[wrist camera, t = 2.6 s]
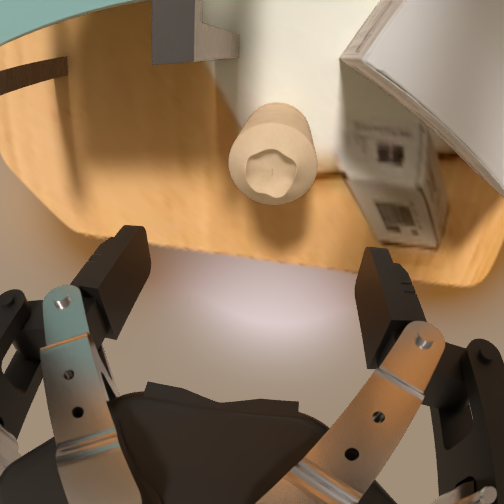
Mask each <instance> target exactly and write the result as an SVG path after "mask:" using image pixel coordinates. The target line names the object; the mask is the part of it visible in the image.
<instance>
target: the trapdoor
mask: <svg viewBox="0 0 504 504" xmlns="http://www.w3.org/2000/svg"><path fill="white" fill-rule="evenodd" d="M143 1H149V0H0V46H2V45H4V44H6V43H8V42H11V41H13V40H15V39H17V38H20V37H22V36H25V35H27V34H29V33H32V32H35V31H37V30H40V29H42V28H45V27H48V26H51V25H54V24H57V23H59V22H62V21H66V20H69V19H72V18H75V17H79V16H82V15H85V14H89V13H93V12H97V11H100V10H105V9H109V8H113V7H117V6H122V5H127V4H132V3H137V2H143Z"/></svg>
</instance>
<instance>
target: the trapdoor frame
mask: <svg viewBox="0 0 504 504" xmlns="http://www.w3.org/2000/svg"><path fill="white" fill-rule="evenodd" d="M226 58H239V35H238V34H235V33H232V32H229V31H226V30H223V29H220V28H217V27H214V26H211V25H208V24H205V23H202V0H152V65H156V64H169V63H184V62H198V61H207V60H216V59H226ZM65 75H68V70H67V56H65V57H60V58H54V59H49V60H44V61H39V62H34V63H30V64H25V65H21V66H17V67H13V68H9V69H6V70H2V71H0V95H3V94H5V93H8V92H11V91H14V90H17V89H20V88H23V87H26V86H29V85H33V84H36V83H39V82H43V81H46V80H50V79H53V78H57V77H61V76H65Z"/></svg>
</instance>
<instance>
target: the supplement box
mask: <svg viewBox="0 0 504 504" xmlns="http://www.w3.org/2000/svg"><path fill="white" fill-rule="evenodd" d="M339 58H340V60H342V61H343V62H344V63H346V64H347V65H349V66H350V67H352V68H353V69H355V70H356V71H358V72H359V73H360V74H362V75H363V76H365V77H366V78H367V79H369V80H370V81H372V82H373V83H374V84H376V85H377V86H379V87H380V88H381V89H383V90H384V91H385V92H387V93H388V94H389V95H390V96H392V97H393V98H394V99H396V100H397V101H398V102H399V103H401V104H402V105H403V106H404V107H406V108H407V109H408V110H409V111H410V112H412V113H413V114H414V115H415V116H416V117H418V118H419V119H420V120H421V121H422V122H423V123H424V124H426V125H427V126H428V127H429V128H430V129H431V130H432V131H433V132H435V133H436V134H437V135H438V136H439V137H440V138H441V139H442V140H443V141H444V142H445V143H446V144H447V145H449V146H450V147H451V148H452V149H453V150H454V151H455V152H456V153H457V154H458V155H459V156H460V157H461V158H462V159H463V160H464V161H465V162H466V163H467V164H468V165H469V167H470V168H471V169H472V170H473V171H474V172H476V173H477V174H478V175H479V176H480V177H481V178H483V179H484V180H485V181H486V182H487V183H488V184H490V185H491V186H492V187H493V188H494V189H495V190H496V191H497V192H499V193H500V194H501V195H502V196H503V197H504V0H380V1H379V2H378V4H377V5H376V7H375V8H374V9H373V11H372V12H371V14H370V15H369V16H368V18H367V19H366V21H365V22H364V23H363V25H362V26H361V28H360V29H359V31H358V32H357V33H356V35H355V36H354V38H353V39H352V41H351V42H350V43H349V45H348V46H347V48H346V49H345V50H344V52H343V53H342V54H341V56H340V57H339Z"/></svg>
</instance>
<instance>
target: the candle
mask: <svg viewBox="0 0 504 504" xmlns="http://www.w3.org/2000/svg"><path fill="white" fill-rule="evenodd" d="M228 166H229V172H230V175H231V178H232V180H233V182H234V184H235V185H236V187H237V188H238V189H239V190H240V191H241V192H242V193H243V194H244V195H245V196H247V197H248V198H250V199H252V200H254V201H256V202H259V203H262V204H267V205H281V204H286V203H290V202H292V201H294V200H296V199H298V198H300V197H301V196H302V195H304V194H305V193H306V192H307V191H308V190H309V188H310V187H311V186H312V184H313V182H314V180H315V177H316V174H317V166H318V164H317V156H316V152H315V147H314V143H313V139H312V135H311V131H310V127H309V124H308V122H307V120H306V118H305V117H304V115H303V114H302V113H301V112H300V111H299V110H298V109H296V108H295V107H293V106H291V105H288V104H285V103H270V104H266V105H263V106H261V107H260V108H258V109H257V110H256V111H254V112H253V114H252V115H251V116H250V117H249V119H248V121H247V122H246V124H245V125H244V127H243V129H242V130H241V132H240V134H239V135H238V137H237V138H236V140H235V142H234V144H233V145H232V148H231V150H230V154H229V160H228Z"/></svg>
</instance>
